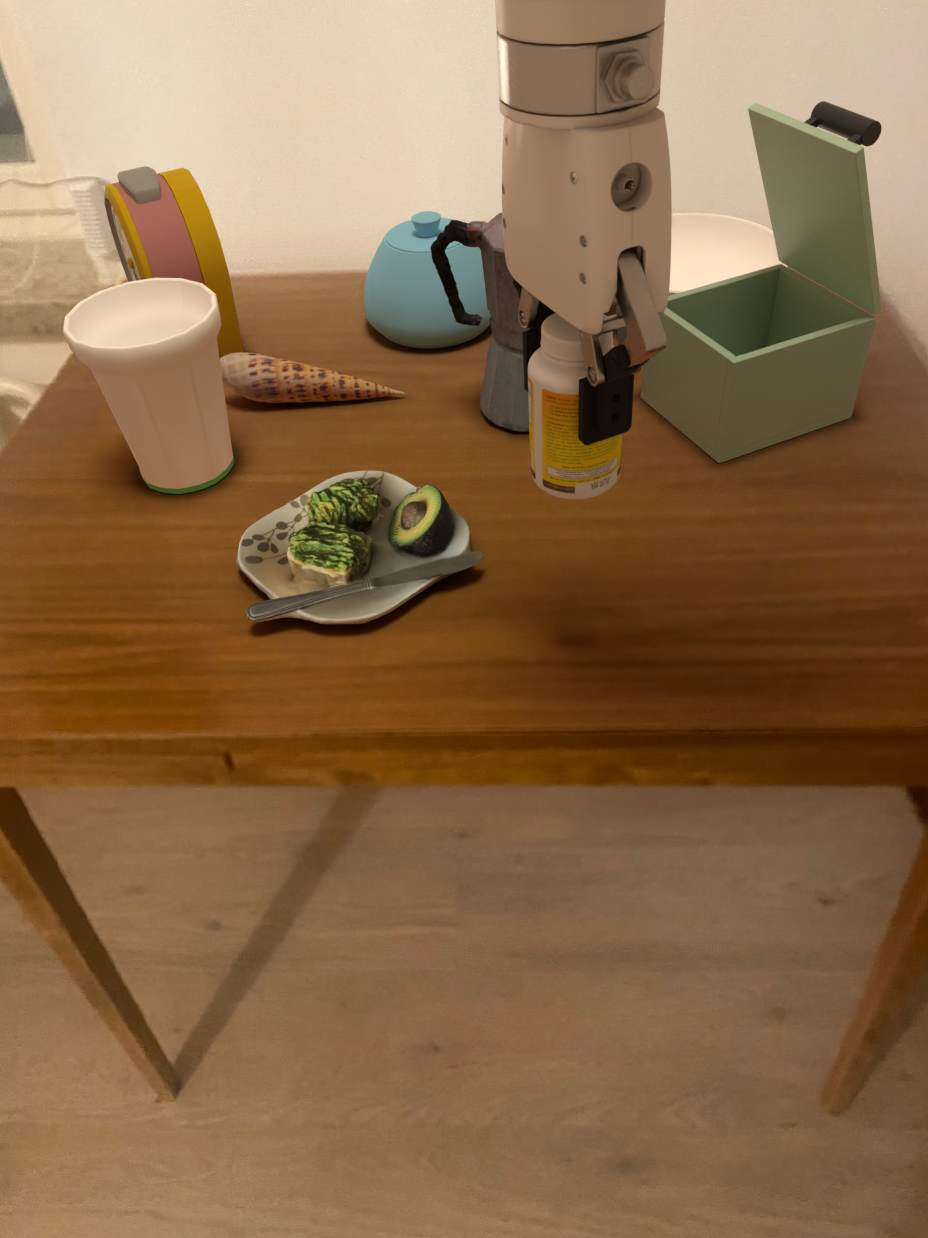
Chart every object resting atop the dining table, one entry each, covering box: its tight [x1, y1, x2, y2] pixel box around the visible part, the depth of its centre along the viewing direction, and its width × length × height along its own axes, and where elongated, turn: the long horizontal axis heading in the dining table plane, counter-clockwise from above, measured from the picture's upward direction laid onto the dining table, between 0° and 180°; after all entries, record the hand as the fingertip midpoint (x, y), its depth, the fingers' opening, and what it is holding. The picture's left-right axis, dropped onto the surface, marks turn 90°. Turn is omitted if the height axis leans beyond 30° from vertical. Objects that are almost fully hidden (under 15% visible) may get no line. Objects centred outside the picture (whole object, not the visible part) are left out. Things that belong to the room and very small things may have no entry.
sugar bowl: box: [363, 210, 491, 350], centre depth 103 cm, size 15×15×12 cm
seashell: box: [220, 351, 407, 404], centre depth 94 cm, size 4×18×5 cm, turn 85°
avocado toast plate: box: [235, 469, 486, 625], centre depth 76 cm, size 19×18×5 cm
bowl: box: [669, 212, 790, 296], centre depth 102 cm, size 20×20×7 cm
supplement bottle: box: [528, 313, 623, 500], centre depth 57 cm, size 6×6×10 cm
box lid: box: [747, 100, 883, 316], centre depth 80 cm, size 15×13×5 cm
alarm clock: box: [103, 165, 245, 358], centre depth 99 cm, size 15×8×18 cm, turn 27°
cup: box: [62, 278, 235, 495], centre depth 83 cm, size 12×12×15 cm
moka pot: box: [430, 212, 529, 433], centre depth 86 cm, size 10×15×20 cm, turn 89°
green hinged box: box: [639, 264, 877, 464], centre depth 87 cm, size 15×13×10 cm
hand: (576, 407), depth 57 cm, fingers closed on supplement bottle, 5 cm apart
